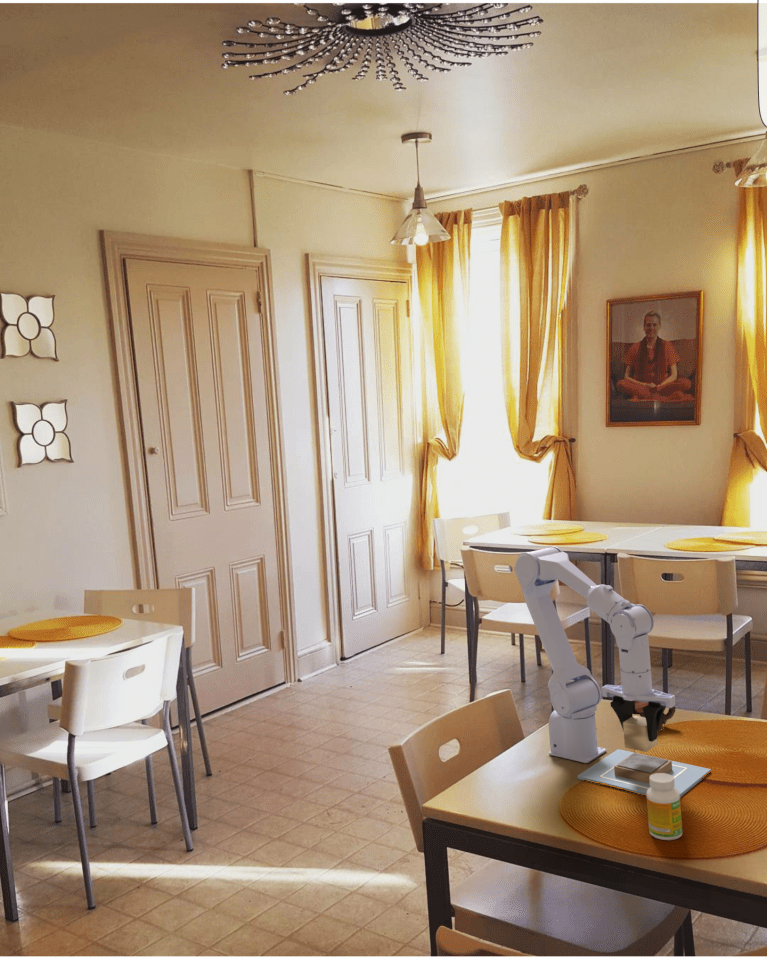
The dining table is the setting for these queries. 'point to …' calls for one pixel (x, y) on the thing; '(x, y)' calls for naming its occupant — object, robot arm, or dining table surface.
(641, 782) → the board
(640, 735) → the oak block
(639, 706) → the pottery mug
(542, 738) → the dining table surface
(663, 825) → the supplement bottle
